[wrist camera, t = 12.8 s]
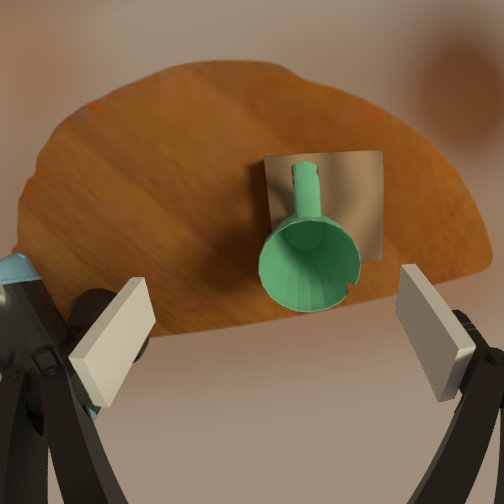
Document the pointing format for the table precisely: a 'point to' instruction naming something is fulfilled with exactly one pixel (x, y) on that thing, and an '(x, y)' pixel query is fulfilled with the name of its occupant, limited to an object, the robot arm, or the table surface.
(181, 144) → the table surface
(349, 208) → the walnut board
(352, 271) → the mug
